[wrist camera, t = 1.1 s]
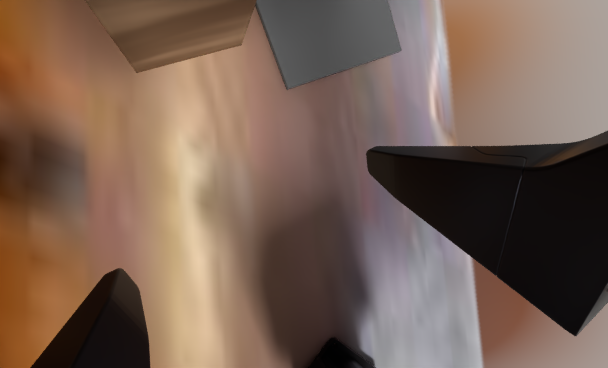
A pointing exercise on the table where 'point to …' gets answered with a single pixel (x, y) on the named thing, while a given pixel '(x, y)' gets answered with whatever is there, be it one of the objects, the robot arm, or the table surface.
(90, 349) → the robot arm
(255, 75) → the table surface
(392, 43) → the mat
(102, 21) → the board
